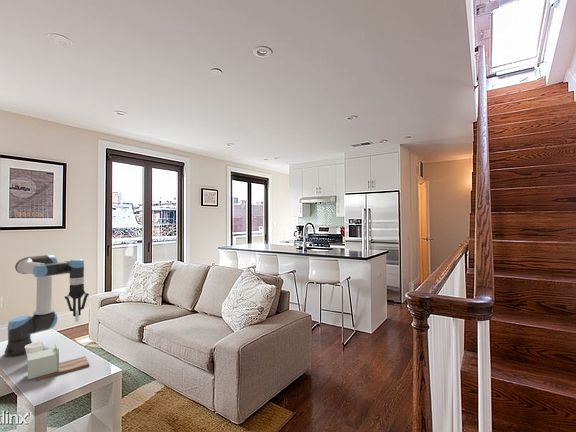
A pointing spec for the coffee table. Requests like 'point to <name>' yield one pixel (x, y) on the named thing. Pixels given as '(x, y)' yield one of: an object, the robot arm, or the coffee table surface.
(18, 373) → the coffee table surface
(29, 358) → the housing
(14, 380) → the coffee table surface
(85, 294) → the robot arm
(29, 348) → the cup
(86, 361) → the board
